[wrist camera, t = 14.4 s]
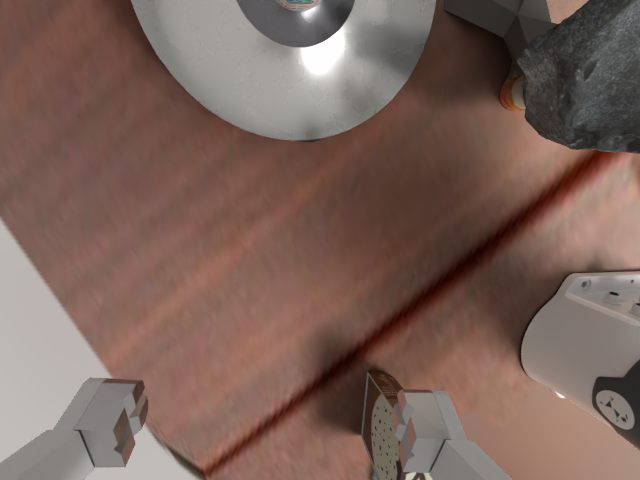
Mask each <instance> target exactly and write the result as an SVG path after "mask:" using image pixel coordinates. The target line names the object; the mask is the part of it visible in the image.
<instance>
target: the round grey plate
mask: <svg viewBox="0 0 640 480" xmlns="http://www.w3.org/2000/svg"><path fill="white" fill-rule="evenodd" d="M131 2H132V5H133V8H134V11H135V13H136V15H137V17H138V20H139V22H140V24H141V26H142V29H143V31H144V33H145V35H146V37H147V38H148V40H149V42H150V43H151V45H152V47H153V49H154V50H155V52H156V54H157V55H158V57H159V58H160V60H161V61H162V62H163V64H164V65H165V66H166V68H167V69H168V70H169V72H170V73H171V74H172V76H173V77H174V78H175V79H176V80H177V81H178V82H179V83H180V84H181V85H182V86H183V87H184V89H185V90H186V91H187V92H188V93H189V94H190V95H191V96H192V97H194V98H195V99H196V100H197V101H198V102H199V103H201V104H202V105H203V106H204V107H205V108H206V109H208V110H209V111H211V112H212V113H214V114H215V115H217V116H218V117H220V118H221V119H223V120H224V121H226V122H228V123H230V124H232V125H234V126H236V127H238V128H240V129H242V130H245V131H248V132H251V133H254V134H257V135H260V136H264V137H269V138H274V139H282V140H294V141H298V142H313V141H317V140H319V139H321V138H324V137H329V136H333V135H336V134H339V133H342V132H344V131H347V130H350V129H352V128H354V127H355V126H357V125H359V124H361V123H363V122H365V121H366V120H368V119H369V118H371V117H372V116H373V115H375V114H376V113H378V112H379V111H380V110H381V109H382V108H383V107H384V106H385V105H387V104H388V103H389V102H390V101H391V100H392V99H393V98H394V96H395V95H396V94H397V93H398V92H399V90H400V89H401V88H402V87H403V86H404V84H405V83H406V81H407V80H408V78H409V76H410V75H411V73H412V72H413V70H414V69H415V66H416V64H417V62H418V60H419V58H420V56H421V54H422V52H423V50H424V47H425V44H426V41H427V39H428V36H429V33H430V29H431V25H432V21H433V17H434V12H435V5H436V0H322V1H321V2H320V3H319V4H318V5H317V6H316V7H314V8H312V9H310V10H307V11H292V10H289V9H286V8H284V7H283V6H281V5H280V4H278V3H277V2H276V1H275V0H131Z"/></svg>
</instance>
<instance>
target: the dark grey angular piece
mask: <svg viewBox="0 0 640 480" xmlns="http://www.w3.org/2000/svg"><path fill="white" fill-rule="evenodd" d="M444 10H446V11H448V12H450V13H452V14H454V15H456V16H459V17H461V18H463V19H465V20H467V21H469V22H471V23H473V24H475V25H477V26H480V27H482V28H484V29H486V30H488V31H490V32H492V33H494V34H496V35H498V36H501V37H503V38H504V40H505V43H506V45H507V47H508V50H509V52H510V54H511V57H512V64H511V67H510V71H509V74H508V77H507V79H506V81H505V82H504V84H503V86H502V88H501V90H500V101H501V103H502V105H503V106H504V107H505V108H506V109H508V110H511V111H521V110H525V119H526V121H527V122H528V123H529V124H530V125H531V126H532V127H533V128H534V129H535V130H536V131H537V132H538V134H539V135H541V136H542V137H544V138H546V139H549V140H551V141H554V142H556V143H560V144H562V145H565V146H567V147H569V148H570V149H575V150H579V149H583V150H591V149H593V150H599V151H609V152H629V153H636V154H640V0H589V1H588V2H586V4H584V5H583V6H582V7H581V8H580V9H578V10H577V11H576V12H575V13H574V14H573V15H571V16H570V17H568V18H567V19H564V20H563V21H562V22H561V23H560V24H555V23H551V19H550V15H549V10H548V6H547V2H546V0H444Z"/></svg>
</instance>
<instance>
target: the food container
mask: <svg viewBox="0 0 640 480" xmlns="http://www.w3.org/2000/svg"><path fill="white" fill-rule="evenodd" d="M401 389H403V388H402V387H401V385H400V384H399V383H398V382H397V381H396V380H395V379H394V378H393V377H392V376H391V375H389V374H387V373H384V372H380V371H367V380H366V390H365V400H364V410H363V420H362V431H361V437H362V439H363V442H364V445H365V447H366V450H367V453H368V455H369V458H370V460H371V463H372V466H373V468H374V471H375V474H376V476H377V479H378V480H433V479H432V478H431V476H430V475H429V474H430V473H416V472H403V470H402V465H401V461H400V457H399V452H398V448H399V445H400V441H399V440H398V439H397V437H396V436H395V435H394V430H393V423H392V412H393V408H394V405H395V404H396V403H398V402H399V401H398V397H397V395H398V392H399V391H400V390H401Z"/></svg>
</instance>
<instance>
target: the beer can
mask: <svg viewBox="0 0 640 480" xmlns="http://www.w3.org/2000/svg"><path fill="white" fill-rule="evenodd" d="M275 1H276V2H277V3H278V4H280V5H281V6H283V7H284V8H286V9H289V10H292V11H307V10H310V9H312V8H314V7H316V6H317V5H318V4H319V3H320V2H321V1H322V0H275Z"/></svg>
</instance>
